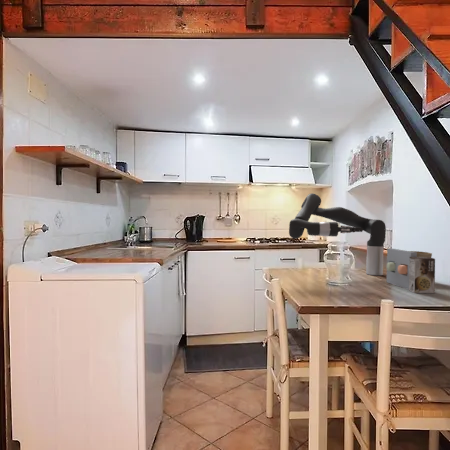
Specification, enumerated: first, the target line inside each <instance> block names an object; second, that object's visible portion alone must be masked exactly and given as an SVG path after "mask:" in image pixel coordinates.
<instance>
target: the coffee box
mask: <svg viewBox="0 0 450 450" xmlns="http://www.w3.org/2000/svg"><path fill="white" fill-rule="evenodd" d="M408 291H410V292H412V293H414V294H436V292H435V291H436V258H434V257H410V260H409V290H408Z"/></svg>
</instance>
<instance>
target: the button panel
mask: <svg viewBox="0 0 450 450" xmlns="http://www.w3.org/2000/svg"><path fill="white" fill-rule="evenodd" d="M386 251H387V254H386V264H387V263H388V262H395V271H388V270H387V269H386V283H388V284H392V285H395V286H397V287H400V288H402V289H406V290H408V291H410V290H409V260H410V257H417V252H411V251H412V250H406V249H405V250H404V249H399V248H398V249H396V248H387V249H386ZM399 265H408V268H407V274H399V273H398V266H399Z"/></svg>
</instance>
